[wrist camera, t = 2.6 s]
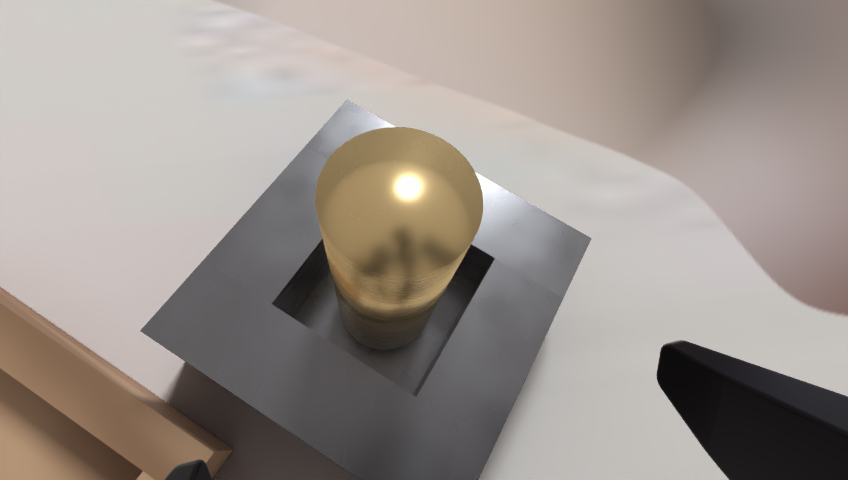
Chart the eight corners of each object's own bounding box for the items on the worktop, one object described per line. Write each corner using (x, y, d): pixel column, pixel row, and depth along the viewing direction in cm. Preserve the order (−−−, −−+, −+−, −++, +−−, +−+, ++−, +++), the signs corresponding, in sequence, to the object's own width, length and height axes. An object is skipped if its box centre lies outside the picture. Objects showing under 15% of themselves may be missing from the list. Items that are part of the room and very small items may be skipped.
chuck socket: (430, 514, 18) (449, 540, 13) (189, 352, 19) (140, 330, 15) (550, 273, 22) (591, 238, 18) (350, 156, 24) (347, 99, 19)
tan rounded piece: (400, 368, 19) (430, 310, 10) (321, 317, 19) (279, 216, 10) (446, 290, 20) (510, 177, 11) (372, 246, 21) (376, 101, 12)
